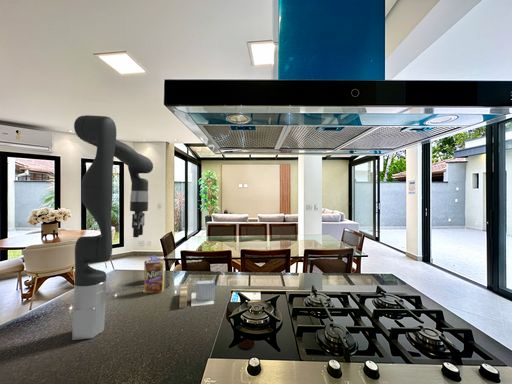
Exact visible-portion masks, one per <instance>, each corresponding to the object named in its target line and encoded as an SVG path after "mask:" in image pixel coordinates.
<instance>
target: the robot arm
mask: <svg viewBox="0 0 512 384" xmlns="http://www.w3.org/2000/svg"><path fill="white" fill-rule="evenodd" d="M73 124H74V125H73V128H74V132H75V133H74V134H76V136H77V137H78V138H79V139H80V140H81V141H83V142H85V143H87V144H90V145H92V146H94V147H96V152H95V158H94V160H93V161H92V163H91V164H90V166H89V167H88V169H87V170H86V171H85V173H84V175H83V176H82V179H81V186H80V194H81V195H80V200H81V202H82V204H83V207H85V209H86V210H87V211H88V212H89V214H90V215H91V216H92V218H93V219H94V220H95V222H96V223H97V225H98V228H99V232H100V235H92V236H80V237H78V238H77V240H76V242H75V245H74V285H73V286H74V288H73V291H74V292H73V307H72V309H73V311H72V327H71V336H72V337H71V340H72V341H77V340H85V339H93V338H95V337H96V336H98V335H100V334H101V333H102V332H104V330H105V312H106V293H107V292H106V291H107V290H106V288H107V273H106V272H105V271H104V270H101V269H97V268H94V267H91V266H90V265H89V264H92V263H93V264H95V263H104V262H108V261H110V259H111V258H112V254H113V234H112V233H113V231H112V230H113V229H112V207H113V192H114V191H113V190H114V188H113V187H114V186H113V185H114V184H113V183H114V181H113V179H114V178H113V175H114V174H113V173H114V158H116V159H117V160H119V161H120V162H122V163H123V165H126V166H127V169H128V172H129V177H130V182H131V187H130V189H131V190H130V191H131V192H130V199H129V203H130V204H129V211H130V212H134V213H132V215H131V218H132V219H131V228H132V230H133V231H132V232H133V233H132V237H133V238H139V236H143V234H144V226H145V217H146V214H145V212H148V211H149V181H148V179H146V178H142V177H141V176H140V174H150V173H151V172H152V171H153V168H154V163H153V162H152V160H151V159H150V158H148V156H145V155H144V154H141V153H138V152H137V151H136V150H135V149H134V148H133V147H132V146H131V145H130V146H129V145H128V144H126V143H125V142H122V141H120V140H118V139H117V126H116V123H115V121H114V120H113V119H112V118H111V117H109V116H106V115H105V116H104V115H90V114H89V115H88V114H87V115H79V116H78V117H77V118H76V119H75V121H74V123H73ZM99 333H100V334H99Z"/></svg>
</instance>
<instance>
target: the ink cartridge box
mask: <svg viewBox="0 0 512 384" xmlns="http://www.w3.org/2000/svg"><path fill="white" fill-rule="evenodd" d="M147 261H165V259H164V258H161V257H157V255H156V254H155V255H150V259H149V260H144V264H143V265H144V275H143V276H144V279H143V281H144V283H145V263H146V262H147Z"/></svg>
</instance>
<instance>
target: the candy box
mask: <svg viewBox="0 0 512 384" xmlns="http://www.w3.org/2000/svg"><path fill="white" fill-rule="evenodd" d="M146 261H147V262H146V263H145V282H144V288H143V289H144V290H143V292H144V294H153V293H154V294H155V293H156V294H157V293H159V294H160V293H161V294H162V293H163V292H164V290H165V272H166V271H165V267H166V261H165V260H164V261H148V260H146Z"/></svg>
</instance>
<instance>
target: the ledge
mask: <svg viewBox="0 0 512 384" xmlns="http://www.w3.org/2000/svg"><path fill="white" fill-rule="evenodd" d="M188 285H189V284H188V283H183V284H182V283H181V284H180V291H179V304H178V305H179V307H178V308H179V309H182V308H187V306H188Z"/></svg>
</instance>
